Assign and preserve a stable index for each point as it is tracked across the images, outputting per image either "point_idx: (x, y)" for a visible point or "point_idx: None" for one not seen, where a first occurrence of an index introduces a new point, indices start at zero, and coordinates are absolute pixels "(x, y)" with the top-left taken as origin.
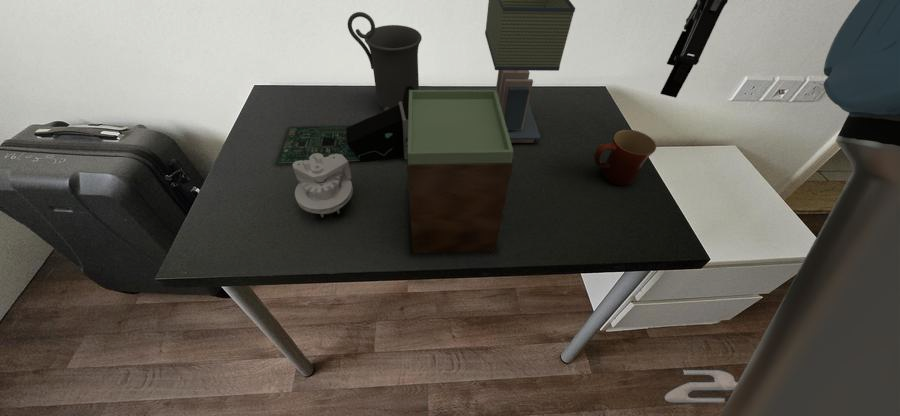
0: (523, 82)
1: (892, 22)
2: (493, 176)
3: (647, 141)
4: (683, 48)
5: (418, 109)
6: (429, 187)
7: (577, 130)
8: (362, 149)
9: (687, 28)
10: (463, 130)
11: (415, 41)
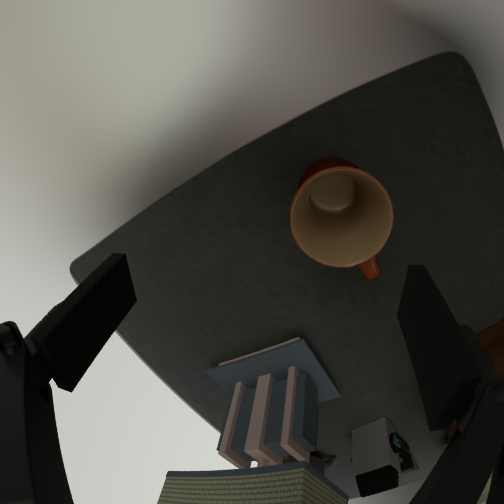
0: (295, 449)
1: None
2: None
3: (311, 185)
4: (93, 318)
5: (483, 492)
6: None
7: (217, 280)
8: (408, 455)
9: (45, 386)
10: None
11: None
